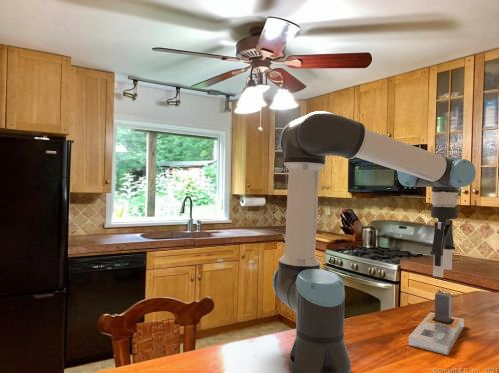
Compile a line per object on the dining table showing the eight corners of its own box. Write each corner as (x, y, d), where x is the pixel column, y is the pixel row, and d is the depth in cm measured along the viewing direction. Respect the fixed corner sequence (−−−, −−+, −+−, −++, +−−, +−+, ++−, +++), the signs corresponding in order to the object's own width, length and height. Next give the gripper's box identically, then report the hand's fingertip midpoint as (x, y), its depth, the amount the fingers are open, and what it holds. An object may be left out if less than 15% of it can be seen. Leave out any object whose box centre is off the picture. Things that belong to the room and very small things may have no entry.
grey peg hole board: (408, 345, 107) (408, 335, 107) (430, 319, 127) (430, 311, 127) (447, 355, 101) (447, 345, 101) (463, 326, 121) (464, 318, 121)
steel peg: (434, 328, 119) (435, 294, 119) (437, 325, 122) (437, 291, 122) (448, 332, 117) (449, 296, 117) (451, 328, 120) (451, 293, 120)
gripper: (449, 207, 107) (448, 282, 107) (464, 205, 127) (462, 268, 127) (421, 206, 112) (420, 277, 112) (439, 204, 131) (438, 264, 131)
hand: (442, 272), depth 119 cm, fingers open, 13 cm apart
